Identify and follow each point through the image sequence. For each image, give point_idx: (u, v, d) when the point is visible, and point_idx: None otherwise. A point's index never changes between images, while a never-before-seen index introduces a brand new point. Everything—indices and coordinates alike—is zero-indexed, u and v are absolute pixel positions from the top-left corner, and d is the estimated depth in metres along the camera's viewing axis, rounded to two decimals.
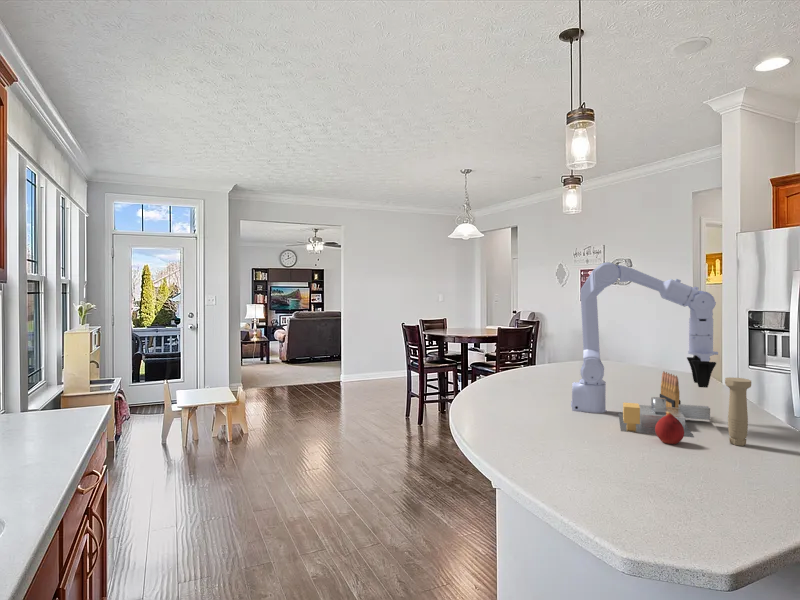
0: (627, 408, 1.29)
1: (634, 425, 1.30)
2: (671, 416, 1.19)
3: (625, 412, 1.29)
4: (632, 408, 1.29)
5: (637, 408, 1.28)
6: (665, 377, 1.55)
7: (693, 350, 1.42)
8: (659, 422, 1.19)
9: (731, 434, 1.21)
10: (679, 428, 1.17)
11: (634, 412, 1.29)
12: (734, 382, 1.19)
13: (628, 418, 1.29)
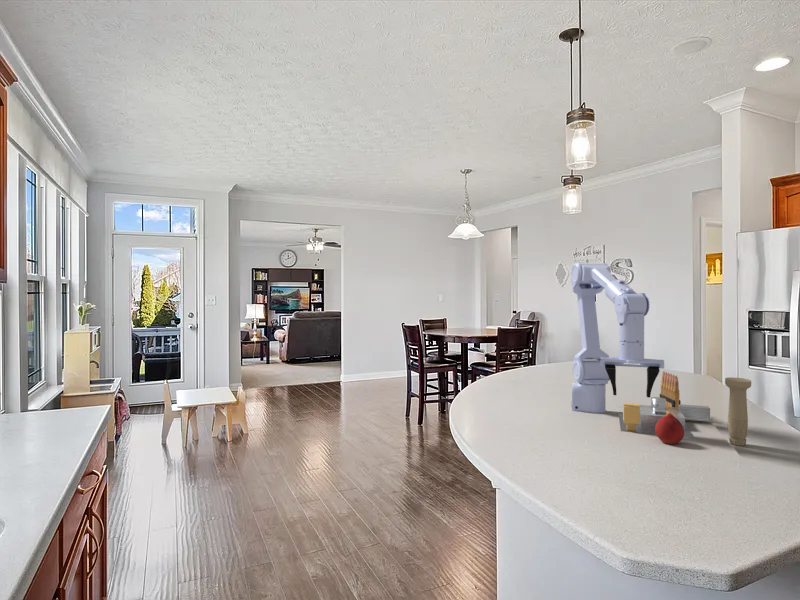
0: (627, 408, 1.29)
1: (634, 425, 1.30)
2: (671, 416, 1.19)
3: (625, 412, 1.29)
4: (632, 408, 1.29)
5: (637, 408, 1.28)
6: (665, 377, 1.55)
7: None
8: (659, 422, 1.19)
9: (731, 434, 1.21)
10: (679, 428, 1.17)
11: (634, 412, 1.29)
12: (734, 382, 1.19)
13: (628, 418, 1.29)
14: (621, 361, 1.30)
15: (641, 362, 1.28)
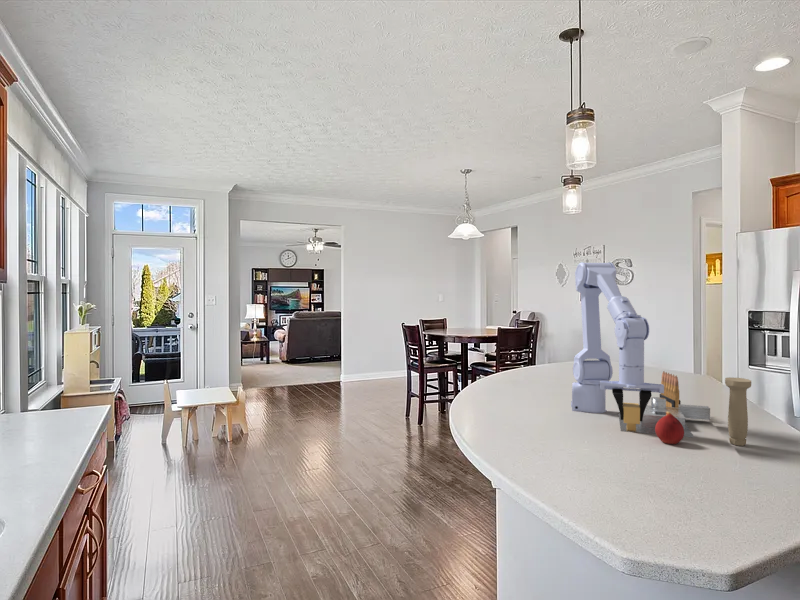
0: (627, 408, 1.29)
1: (634, 425, 1.30)
2: (671, 416, 1.19)
3: (625, 412, 1.29)
4: (632, 408, 1.29)
5: (637, 408, 1.28)
6: (665, 377, 1.55)
7: None
8: (659, 422, 1.19)
9: (731, 434, 1.21)
10: (679, 428, 1.17)
11: (634, 412, 1.29)
12: (734, 382, 1.19)
13: (628, 418, 1.29)
14: (621, 385, 1.30)
15: (641, 387, 1.28)
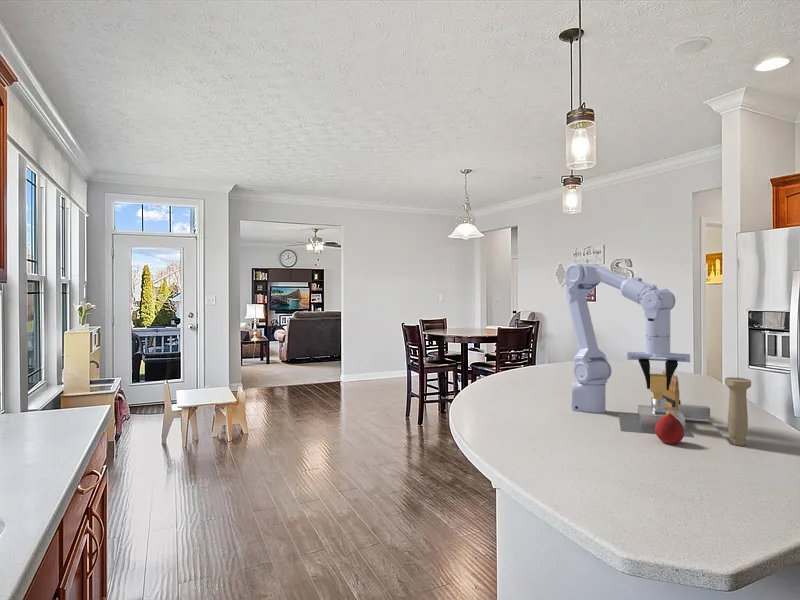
0: (654, 377, 1.33)
1: (661, 394, 1.33)
2: (671, 416, 1.19)
3: (652, 381, 1.33)
4: (659, 377, 1.32)
5: (664, 377, 1.32)
6: None
7: None
8: (659, 422, 1.19)
9: (731, 434, 1.21)
10: (679, 428, 1.17)
11: (661, 381, 1.32)
12: (734, 382, 1.19)
13: (655, 387, 1.33)
14: (648, 355, 1.34)
15: (667, 356, 1.32)
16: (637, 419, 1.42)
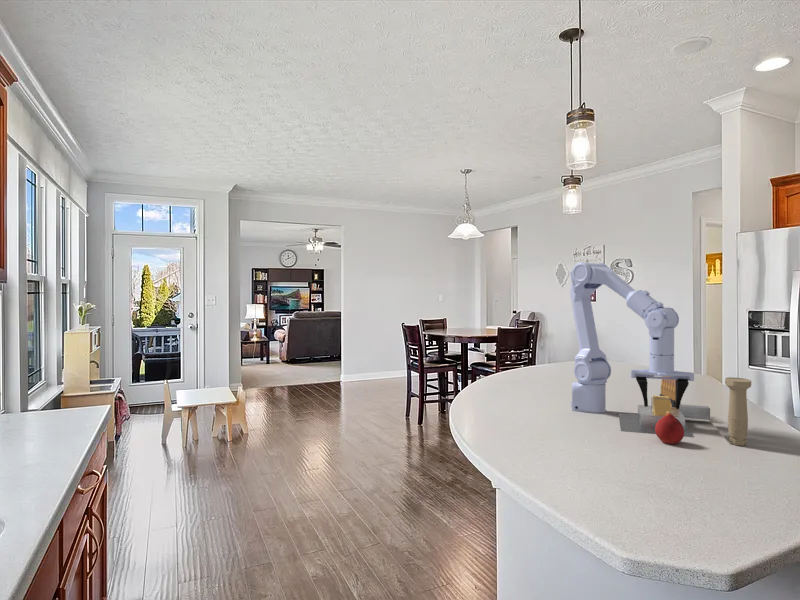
0: (658, 401, 1.33)
1: None
2: (671, 416, 1.19)
3: (656, 404, 1.34)
4: (663, 401, 1.33)
5: (668, 401, 1.33)
6: None
7: None
8: (659, 422, 1.19)
9: (731, 434, 1.21)
10: (679, 428, 1.17)
11: (665, 404, 1.33)
12: (734, 382, 1.19)
13: (659, 410, 1.33)
14: (652, 374, 1.34)
15: (671, 375, 1.33)
16: (637, 419, 1.42)
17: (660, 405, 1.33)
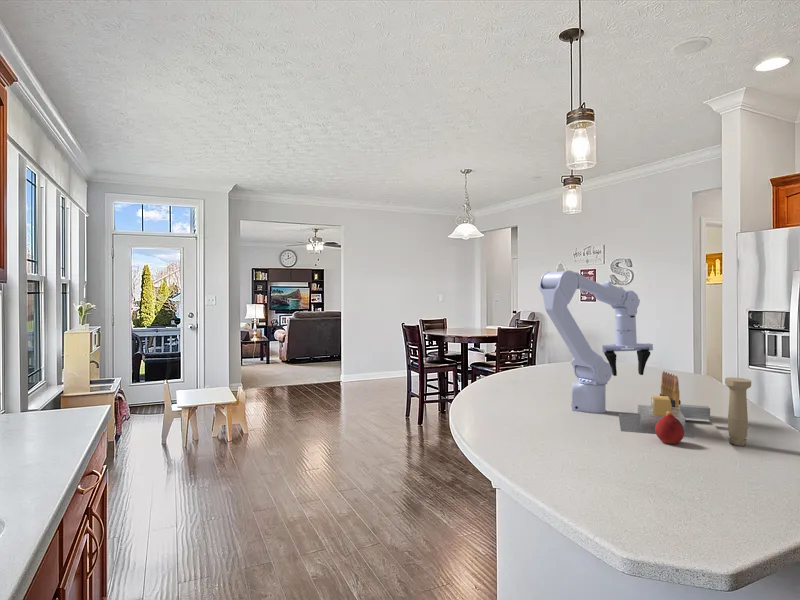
0: (658, 401, 1.33)
1: None
2: (671, 416, 1.19)
3: (656, 404, 1.34)
4: (663, 401, 1.33)
5: (668, 401, 1.33)
6: (665, 377, 1.55)
7: None
8: (659, 422, 1.19)
9: (731, 434, 1.21)
10: (679, 428, 1.17)
11: (665, 404, 1.33)
12: (734, 382, 1.19)
13: (659, 410, 1.33)
14: (620, 347, 1.57)
15: (636, 347, 1.56)
16: (637, 419, 1.42)
17: (660, 405, 1.33)
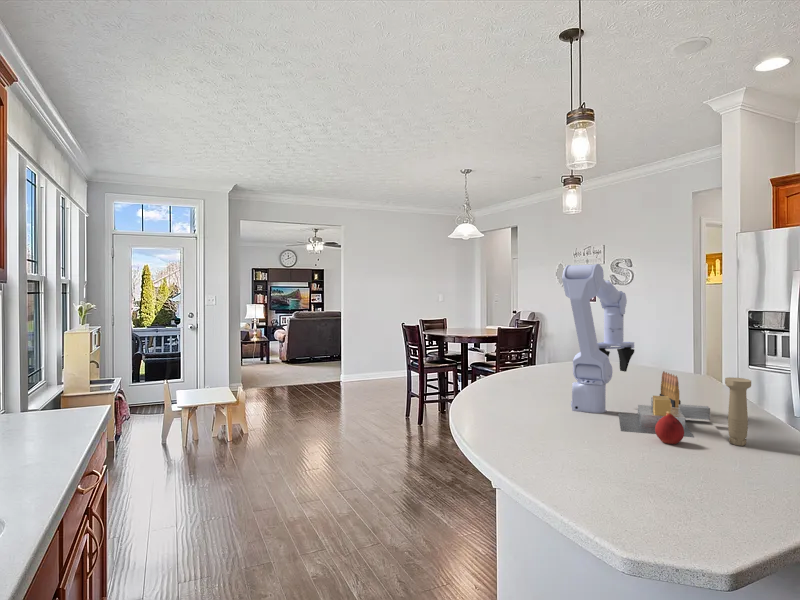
0: (658, 401, 1.33)
1: None
2: (671, 416, 1.19)
3: (656, 404, 1.34)
4: (663, 401, 1.33)
5: (668, 401, 1.33)
6: (665, 377, 1.55)
7: (604, 341, 1.68)
8: (659, 422, 1.19)
9: (731, 434, 1.21)
10: (679, 428, 1.17)
11: (665, 404, 1.33)
12: (734, 382, 1.19)
13: (659, 410, 1.33)
14: (612, 345, 1.63)
15: (624, 344, 1.65)
16: (637, 419, 1.42)
17: (660, 405, 1.33)
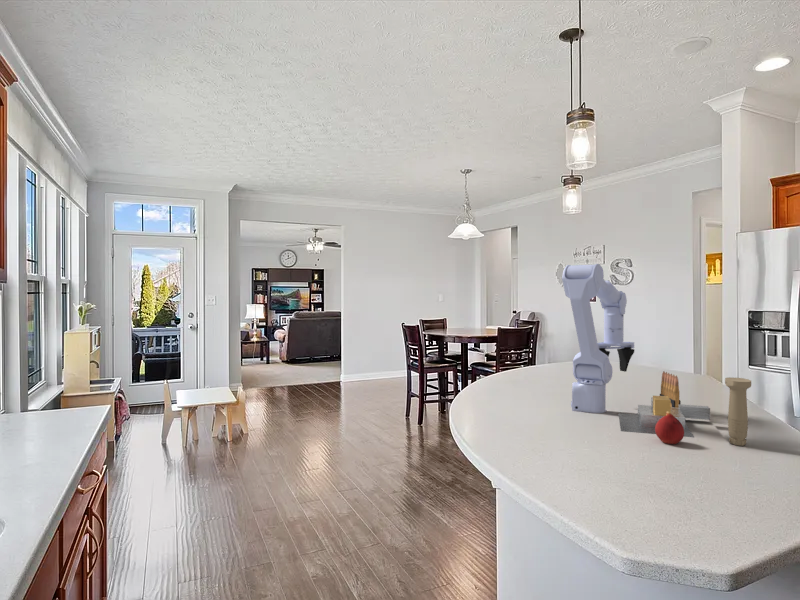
0: (658, 401, 1.33)
1: None
2: (671, 416, 1.19)
3: (656, 404, 1.34)
4: (663, 401, 1.33)
5: (668, 401, 1.33)
6: (665, 377, 1.55)
7: (604, 341, 1.68)
8: (659, 422, 1.19)
9: (731, 434, 1.21)
10: (679, 428, 1.17)
11: (665, 404, 1.33)
12: (734, 382, 1.19)
13: (659, 410, 1.33)
14: (612, 345, 1.63)
15: (624, 344, 1.65)
16: (637, 419, 1.42)
17: (660, 405, 1.33)
